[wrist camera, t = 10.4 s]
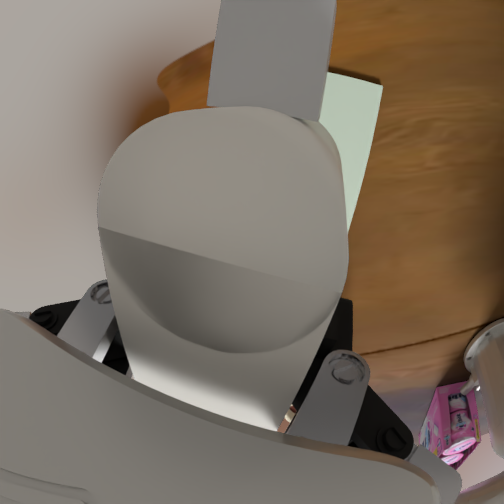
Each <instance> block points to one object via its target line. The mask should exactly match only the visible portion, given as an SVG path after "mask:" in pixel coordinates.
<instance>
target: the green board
mask: <svg viewBox="0 0 504 504" xmlns="http://www.w3.org/2000/svg"><path fill="white" fill-rule="evenodd" d="M382 89H383V86H381V85H377V84H374V83H370V82H367V81H363V80H359V79H356V78H352V77H347V76H343V75H339V74H334V73H330V72H327V78H326V84H325V91H324V96H323V102H322V108H321V114H320V119H319V122H320V123H321V124H322V125H323V126H324V127H325V128H326V129H327V131H328V132H329V133H330V135H331V136H332V138H333V139H334V141H335V143H336V145H337V148H338V150H339V154H340V158H341V164H342V173H343V182H344V192H345V204H346V216H347V231H348V230H349V227H350V224H351V220H352V217H353V213H354V210H355V206H356V203H357V199H358V196H359V192H360V188H361V184H362V181H363V177H364V173H365V169H366V165H367V161H368V156H369V152H370V148H371V144H372V139H373V135H374V130H375V125H376V120H377V115H378V110H379V105H380V100H381V94H382Z"/></svg>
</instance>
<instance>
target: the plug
mask: <svg viewBox="0 0 504 504" xmlns="http://www.w3.org/2000/svg"><path fill="white" fill-rule="evenodd" d="M335 16H336V0H221V6H220V12H219V18H218V24H217V31H216V37H215V44H214V51H213V58H212V66H211V73H210V82H209V90H208V99H207V106H216V107H220V108H207V109H196V110H188V111H181V112H175V113H171V114H168V115H165V116H162V117H159V118H157V119H155V120H152V121H150V122H149V123H147V124H145V125H143V126H141V127H140V128H139V129H137V130H136V131H135V132H133V133H132V134H131V135H129V137H128V138H127V139H126V140H125V141H124V142H123V143H122V144H121V145H120V146H119V147H118V149H117V150H116V152H115V153H114V155H113V156H112V158H111V159H110V161H109V163H108V165H107V167H106V169H105V171H104V175H103V177H102V181H101V184H100V188H99V194H98V203H97V218H98V229H99V236H100V242H101V248H102V255H103V260H104V266H105V271H106V276H107V281H108V286H109V291H110V295H111V299H112V304H113V308H114V312H115V316H116V320H117V324H118V327H119V331H120V335H121V338H122V342H123V345H124V348H125V352H126V355H127V358H128V361H129V364H130V367H131V370H132V373H133V376H134V379H135V380H136V381H138V382H140V383H142V384H144V385H146V386H148V387H151V388H153V389H155V390H157V391H160V392H162V393H164V394H166V395H169V396H171V397H174V398H176V399H178V400H181V401H183V402H186V403H189V404H191V405H194V406H196V407H199V408H202V409H205V410H207V411H210V412H213V413H216V414H219V415H222V416H225V417H228V418H231V419H234V420H237V421H240V422H244V423H247V424H251V425H254V426H258V427H261V428H265V429H269V430H273V431H277V430H278V428H279V426H280V424H281V422H282V421H283V419H284V417H285V415H286V413H287V412H288V410H289V408H290V406H291V404H292V402H293V400H294V398H295V396H296V394H297V392H298V390H299V388H300V386H301V384H302V382H303V380H304V378H305V376H306V374H307V372H308V370H309V368H310V366H311V364H312V362H313V359H314V357H315V355H316V353H317V351H318V348H319V346H320V344H321V342H322V340H323V337H324V335H325V333H326V330H327V328H328V326H329V323H330V321H331V319H332V316H333V314H334V311H335V309H336V306H337V304H338V301H339V299H340V296H341V294H342V291H343V288H344V284H345V281H346V277H347V270H348V262H349V252H348V231H347V216H346V204H345V192H344V182H343V173H342V164H341V158H340V154H339V150H338V148H337V145H336V143H335V141H334V139H333V138H332V136H331V135H330V133H329V132H328V131H327V129H326V128H325V127H324V126H323V125H322V124H321V123H320V122H319V119H320V114H321V108H322V102H323V96H324V91H325V84H326V78H327V72H328V66H329V59H330V52H331V46H332V39H333V31H334V24H335Z"/></svg>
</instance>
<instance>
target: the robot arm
mask: <svg viewBox="0 0 504 504" xmlns="http://www.w3.org/2000/svg"><path fill="white" fill-rule="evenodd" d="M352 337H353V303H352V300H348V299H344V298H340V299H339V301H338V304H337V306H336V309H335V311H334V314H333V316H332V319H331V321H330V323H329V326H328V328H327V330H326V333H325V335H324V337H323V340H322V342H321V344H320V346H319V348H318V351H317V353H316V355H315V357H314V359H313V362H312V364H311V366H310V368H309V370H308V372H307V374H306V376H305V378H304V380H303V382H302V384H301V386H300V388H299V390H298V392H297V394H296V396H295V398H294V400H293V402H292V405H293V407H294V408H295V409H296V413H295V415H294V416H293V418H292V420H291V422H290V424H289V426H288V427H287V429H286V431H285V433H281V432H277V431H273V430H269V429H265V428H261V427H258V426H254V425H251V424H247V423H244V422H240V421H237V420H234V419H231V418H228V417H225V416H222V415H219V414H216V413H213V412H210V411H207V410H205V409H202V408H199V407H196V406H194V405H191V404H189V403H186V402H183V401H181V400H178V399H176V398H174V397H171V396H169V395H166V394H164V393H162V392H160V391H157V390H155V389H153V388H151V387H148V386H146V385H144V384H142V383H140V382H138V381H136V380H134V379H131V377H132V374H133V373H132V370H131V367H130V364H129V361H128V358H127V355H126V352H125V348H124V345H123V342H122V338H121V335H120V331H119V327H118V324H117V320H116V316H115V312H114V308H113V304H112V299H111V295H110V291H109V286H108V281H107V280H102V281H99V282H96V283H95V284H93V285H92V286H91V287H90V288H89V289H88V290H87V292H86V293H85V295H84V296H83V297H82V299H80V300H76V301H70V302H64V303H60V304H54V305H48V306H44V307H41V308H39V309H37V310H35V311H34V312H33V313H32V314H31V312H12V311H9V310H4V309H0V504H504V471H503V472H502V473H500V474H498V475H496V476H494V477H492V478H490V479H487V480H485V481H483V482H481V483H478V484H476V485H474V486H471V487H469V488H467V489H465V490H463V491H461V492H460V490H461V487H462V479H461V477H460V474H459V473H458V472H457V471H456V470H455V469H453V468H452V467H451V466H449V465H448V464H447V463H445V462H444V461H443V460H441V459H440V458H439V457H437V456H436V455H435V454H433V453H432V452H431V451H429V450H428V449H427V448H425V447H424V446H423V445H421V444H420V445H418V446H417V445H416V444H414V440H413V436H412V433H411V431H410V430H409V428H408V427H407V426H406V425H405V424H404V423H403V422H402V421H401V420H400V418H399V417H398V416H397V415H396V414H395V413H394V412H393V411H392V410H391V409H390V408H389V407H388V406H387V405H386V403H385V402H384V401H383V400H382V399H381V398H380V397H379V396H378V395H377V394H376V393H375V392H374V391H373V390H372V389H371V387H370V386H369V385H368V382H369V379H370V369H369V365H368V364H367V362H366V361H365V360H364V359H363V358H362V357H361V356H360V355H358V354H357V353H355V352H352ZM464 364H465V367H466V369H467V370H468V371H469V372H471V375H470V377H469V380H468V381H467V382H466V383H465V384H464V385H463V386H462V387H461V388H460V392H461V394H463V395H467V394H468V393H469V392H470V391H471V390H472V389H473V387H474V388H475V390H477V391H478V390H479V389H480V390H481V394H482V398H483V403H484V407H485V412H486V417H487V422H488V428H489V434H490V439H491V445H492V448H493V450H494V452H495V453H496V454H497V455H498V456H500V457H502V458H504V318H502V319H499V320H497V321H495V322H493V323H491V324H489V325H488V326H486V327H485V328H484V329H482V330H481V331H480V332H479V333H478V334H477V335H476V336H475V337H474V338H473V339H472V341H471V342H470V343H469V345H468V347H467V349H466V351H465V354H464Z"/></svg>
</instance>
